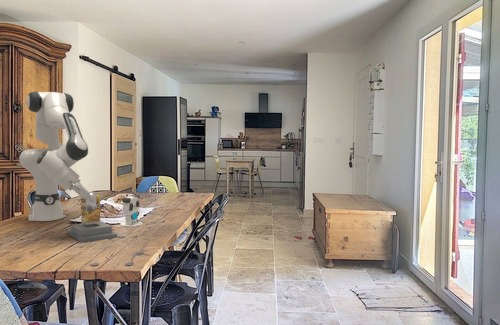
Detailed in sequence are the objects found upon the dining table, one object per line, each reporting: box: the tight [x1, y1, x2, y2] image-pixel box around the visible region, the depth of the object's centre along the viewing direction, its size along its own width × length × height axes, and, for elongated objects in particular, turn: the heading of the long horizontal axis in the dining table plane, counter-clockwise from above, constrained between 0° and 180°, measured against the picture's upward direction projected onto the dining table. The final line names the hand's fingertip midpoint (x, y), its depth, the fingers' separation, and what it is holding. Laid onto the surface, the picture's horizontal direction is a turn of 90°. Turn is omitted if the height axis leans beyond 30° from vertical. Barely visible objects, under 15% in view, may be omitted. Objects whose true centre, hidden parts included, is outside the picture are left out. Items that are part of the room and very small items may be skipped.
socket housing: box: [66, 220, 118, 244], centre depth 184 cm, size 22×16×4 cm
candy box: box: [80, 194, 101, 224], centre depth 203 cm, size 9×4×15 cm, turn 150°
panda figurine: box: [120, 194, 143, 228], centre depth 207 cm, size 12×11×15 cm
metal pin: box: [86, 191, 97, 211], centre depth 183 cm, size 4×4×8 cm
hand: (92, 200), depth 183 cm, fingers closed on metal pin, 4 cm apart
